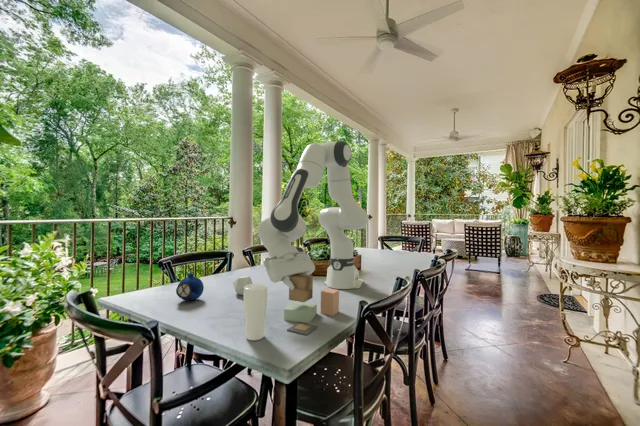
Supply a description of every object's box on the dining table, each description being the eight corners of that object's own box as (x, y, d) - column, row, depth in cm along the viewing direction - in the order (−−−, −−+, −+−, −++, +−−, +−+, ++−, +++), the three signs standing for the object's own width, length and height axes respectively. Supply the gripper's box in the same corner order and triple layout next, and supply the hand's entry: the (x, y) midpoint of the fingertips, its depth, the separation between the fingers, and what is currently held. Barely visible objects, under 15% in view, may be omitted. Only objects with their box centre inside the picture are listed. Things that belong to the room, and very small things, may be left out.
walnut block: (298, 295, 107) (298, 273, 107) (312, 297, 105) (312, 275, 105) (288, 299, 102) (289, 276, 102) (303, 302, 99) (304, 278, 99)
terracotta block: (326, 309, 112) (326, 288, 112) (338, 311, 109) (339, 290, 109) (320, 313, 107) (320, 291, 107) (333, 315, 105) (333, 293, 105)
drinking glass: (270, 338, 85) (271, 287, 85) (248, 344, 81) (249, 290, 81) (261, 330, 91) (261, 282, 91) (239, 336, 87) (240, 285, 87)
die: (257, 295, 131) (254, 275, 136) (250, 290, 123) (246, 269, 128) (240, 301, 131) (237, 281, 136) (231, 296, 124) (228, 275, 129)
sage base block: (293, 312, 109) (293, 301, 109) (316, 314, 107) (316, 303, 107) (284, 320, 100) (284, 309, 100) (309, 323, 98) (309, 311, 98)
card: (298, 323, 97) (298, 321, 97) (317, 327, 94) (317, 325, 94) (286, 330, 91) (287, 328, 91) (306, 335, 88) (306, 333, 88)
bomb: (170, 304, 114) (170, 266, 114) (185, 296, 125) (185, 261, 125) (195, 305, 113) (195, 266, 113) (207, 297, 124) (207, 261, 124)
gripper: (265, 253, 100) (285, 287, 93) (306, 247, 115) (325, 276, 109) (257, 264, 103) (275, 298, 96) (298, 257, 118) (316, 286, 112)
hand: (302, 286), depth 103 cm, fingers closed on walnut block, 7 cm apart
